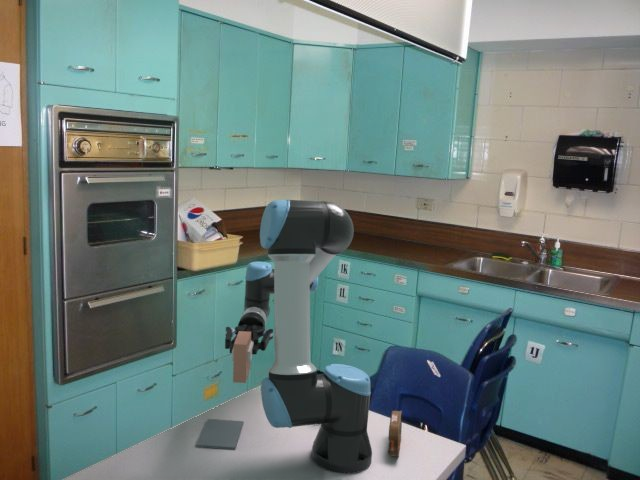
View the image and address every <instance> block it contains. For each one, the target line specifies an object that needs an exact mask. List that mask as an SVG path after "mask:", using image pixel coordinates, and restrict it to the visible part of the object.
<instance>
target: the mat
mask: <svg viewBox="0 0 640 480" xmlns="http://www.w3.org/2000/svg"><path fill="white" fill-rule="evenodd" d="M244 423H245V421H243V420H231V419H230V420H229V419H215V418H207V419H206V422H205V424H204V426H203V428H202V430H201V432H200V435H199V437H198V439H197V441H196V443H195V447H196V448H207V449H221V450H234V451H235V450H236V448H237V445H238V441H239V439H240V435H241V434H242V429H243V426H244Z"/></svg>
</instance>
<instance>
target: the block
mask: <svg viewBox="0 0 640 480" xmlns="http://www.w3.org/2000/svg"><path fill="white" fill-rule="evenodd" d="M251 342H252V341H251V332H246V331H239V332H238V335H237V337H236V340H235V342H234V359H233V361H232V362H233V363H232V365H233V368H232V369H233V370H232V375H233V376H232V383H238V384H241V383H243V384H247V381H248V377H249V374H250V370H251V366H252V365H251V364H252V361H251V362H247V359H248V349H249V346H250V343H251Z"/></svg>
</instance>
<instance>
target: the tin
mask: <svg viewBox="0 0 640 480" xmlns="http://www.w3.org/2000/svg"><path fill="white" fill-rule="evenodd" d="M402 414H403V411H402V410H391V415H390V419H389V426H388V427H389V428H388V455H389V456H392V457H398V458H399V457H400V449H401V443H402V426H403V425H402V423H403V418H402V417H403V415H402Z"/></svg>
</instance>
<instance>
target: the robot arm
mask: <svg viewBox="0 0 640 480" xmlns="http://www.w3.org/2000/svg"><path fill="white" fill-rule="evenodd" d="M259 228H260V230H259V240H260V241H259V242H260V245H261V247H262V248H263V249H265V250H267V257H268V258H269V259H270V260H271V261H272V262H273V268H272V264H271V263H269V262H266V261H252V262H249V263H248V264H247V266H246V272H245V288H244V292H245V293H244V302H243V303H244V304H243V312H242V313H241V317H240V319H239V321H238V324H237V326H235V327H234V328H231V327H230V326H226V327H225V338H224V339H225V340H224V349H226V350H228V349H229V354H231V362H233V359H234V342H235V340H236V337H237V335H238V332H239V331H246V332H251V343H250V346H249V349H248V359H247V362H251V363H252V358H253V355H257V354H258V351H259V350H261V351H263V352H264V351H266V350H267V348H268V344H269V343H270V341H271V340H273V339H274V363H273V364H272V365H271V366H270V367H269V368H268V377H265V378H263V379H262V380H261V382H260V395H261V403H262V407H263V411H264V414H265V417H266V419H267V422H268V423H269V424H270V426H272V427H273V428H276V429H281V428H288V429H291V428H295V427H304V426H311V425H320V427H319V430H318V432H317V434H316V436H315V439H314V441H313V444H312V447H311V459H312V461H313V462H314V463H315V464H316V465H317V466H318V467H320V468H322V469H323V470H326V471H328V472H332V473H336V474H343V475H344V474H345V475H346V474H355V473H359V472H363V471H364V470H366V469H367V468H369V467H370V465H371V464H372V460H373V459H372V457H373V450H372V445H371V442H370V437H369V435H368V434H369V433H368V423H369V422H368V421H369V412H370V411H369V410H370V400H371V399H370V398H371V394H372V391H371V379H370V375H368V374H367V373H366V372H365V371H364V370H361V369H360V368H357V367H355V366H352V365H348V364H343V363H342V364H341V363H331V364H328V365H326V366H325V367H324V369H323V373H318V370H317V369H318V368H317V367H316V365H314V364H313V363H312V361H311V296H310V295H311V294H312V293H315V292H316V291H317V289H318V286H319V275H320V274H321V273H322V272H323V271H324V270H325V268H326V267H327V266H328V265H329V264H330V262H331V261H332V260H333V259H334V258H335V257H336V255H340V254H343V252H345V251H346V250H347V248H348V247H349V246H350V245H351V243H352V240H353V238H354V230H355V228H354V223H353V220H352V218H351V216H350V215H349V213H348V212H347V211H346V210H345V209H344V208H343V207H342V206H340V205H339V204H337V203H334V202H331V201H326V200H321V201H319V200H318V201H317V200H315V201H314V200H303V199H302V200H297V199H282V200H278V199H277V200H272V201H270V202H269V203H268V204H267V205H266V206H265V209H264V211H263V213H262V217H261V222H260V227H259ZM271 295H273V296H274V297H273V298H274V299H273V301H274V329H273V328H270V329H266V325H267V321H268V319H269V316H270V312H271V310H270V300H271ZM234 334H235V336H234ZM261 337H262V338H261ZM260 338H261V340H260V342H259V339H260Z"/></svg>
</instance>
